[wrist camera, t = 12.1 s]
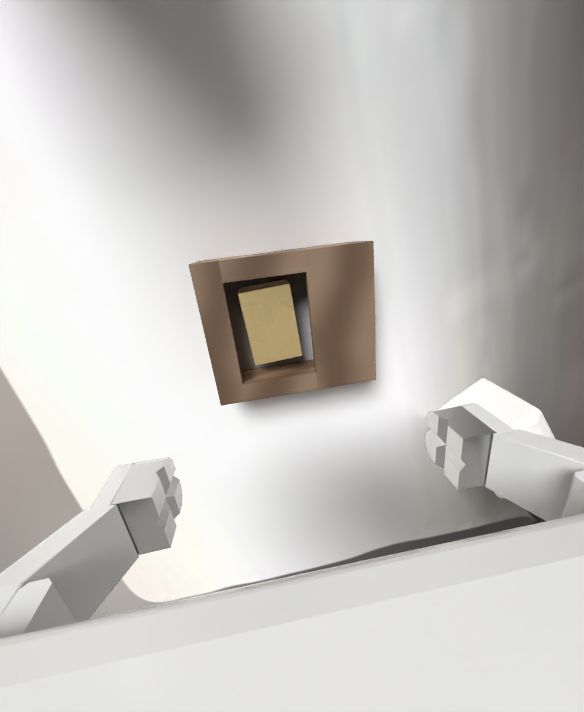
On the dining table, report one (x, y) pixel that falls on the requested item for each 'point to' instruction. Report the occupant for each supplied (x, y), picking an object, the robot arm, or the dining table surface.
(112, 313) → the dining table surface
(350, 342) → the brown wooden frame
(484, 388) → the medicine bottle
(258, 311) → the brushed brass pillar
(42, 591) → the robot arm
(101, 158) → the dining table surface
